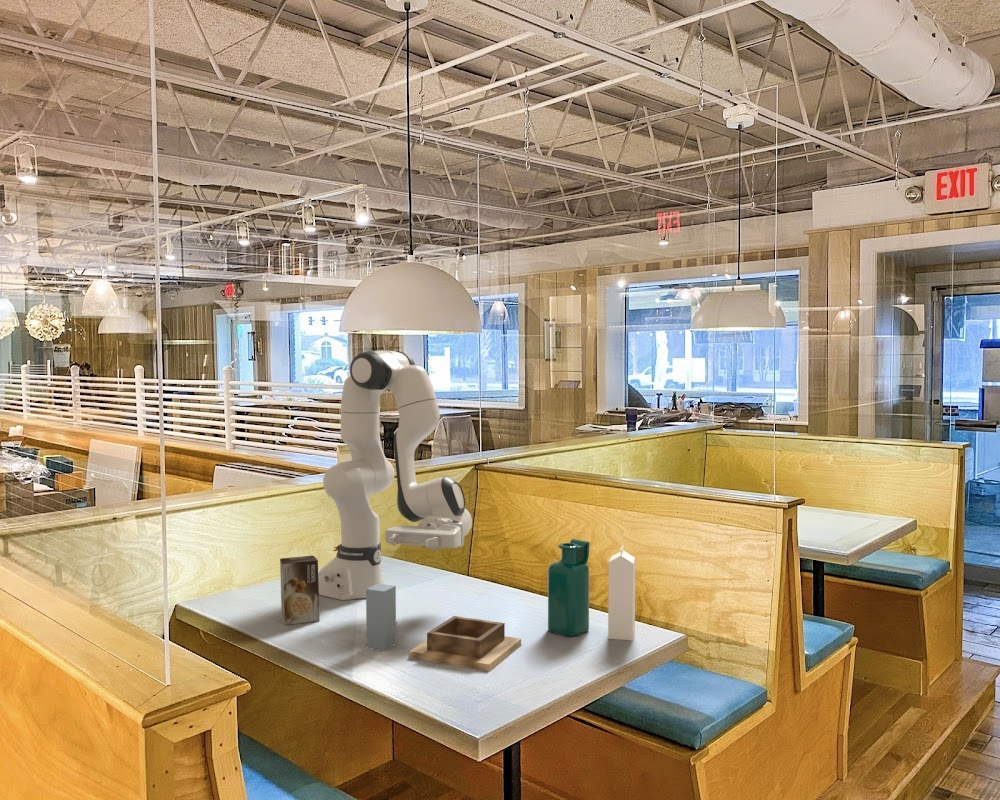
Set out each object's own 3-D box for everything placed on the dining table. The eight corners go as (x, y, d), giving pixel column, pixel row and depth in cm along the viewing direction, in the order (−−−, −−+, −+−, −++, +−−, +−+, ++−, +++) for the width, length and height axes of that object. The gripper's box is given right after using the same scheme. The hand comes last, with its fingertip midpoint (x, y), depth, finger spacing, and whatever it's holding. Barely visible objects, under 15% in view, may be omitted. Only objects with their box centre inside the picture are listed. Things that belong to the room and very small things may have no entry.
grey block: (366, 647, 189) (366, 589, 189) (378, 641, 194) (377, 583, 193) (384, 650, 187) (384, 591, 186) (396, 644, 192) (395, 586, 191)
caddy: (409, 657, 183) (409, 633, 182) (446, 633, 199) (446, 611, 199) (489, 671, 175) (489, 646, 174) (521, 644, 191) (521, 622, 191)
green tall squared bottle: (571, 638, 195) (571, 548, 194) (544, 630, 201) (544, 543, 200) (595, 628, 202) (595, 542, 201) (568, 621, 208) (568, 537, 207)
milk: (608, 639, 195) (607, 549, 194) (610, 631, 201) (610, 543, 200) (633, 641, 194) (633, 550, 193) (635, 632, 200) (635, 544, 199)
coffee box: (316, 614, 215) (315, 554, 214) (320, 621, 209) (319, 560, 208) (280, 618, 211) (279, 557, 211) (283, 625, 205) (282, 563, 205)
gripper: (400, 518, 217) (372, 527, 205) (468, 522, 209) (443, 532, 196) (401, 541, 217) (372, 552, 205) (468, 546, 209) (443, 558, 196)
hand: (407, 542), depth 200 cm, fingers open, 8 cm apart
